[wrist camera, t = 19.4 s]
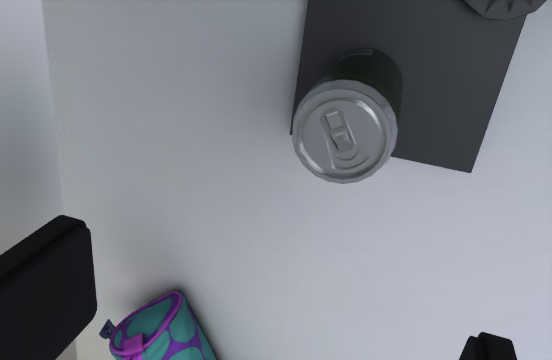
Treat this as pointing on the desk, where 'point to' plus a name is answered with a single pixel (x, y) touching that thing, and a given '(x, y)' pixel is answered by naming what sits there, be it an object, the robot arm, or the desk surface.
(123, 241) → the desk surface
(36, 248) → the robot arm
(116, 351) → the pencil case
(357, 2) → the scale
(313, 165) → the beer can
